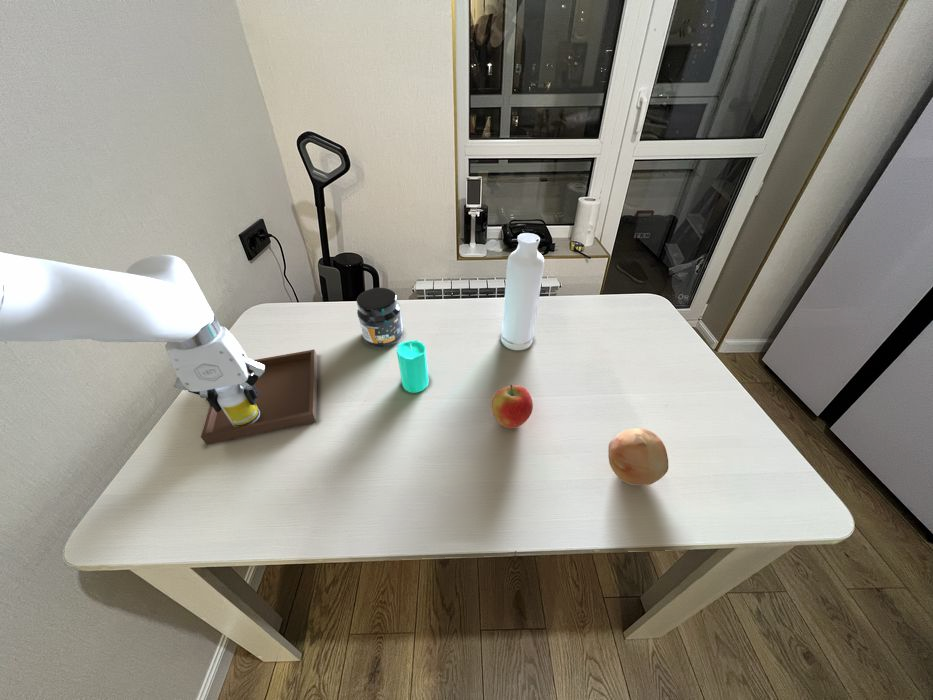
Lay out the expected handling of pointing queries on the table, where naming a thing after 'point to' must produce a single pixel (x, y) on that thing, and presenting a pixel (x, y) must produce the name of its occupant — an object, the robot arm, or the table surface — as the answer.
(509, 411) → the apple
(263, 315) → the table surface
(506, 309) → the bottle
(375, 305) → the supplement container
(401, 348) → the candle
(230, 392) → the supplement bottle
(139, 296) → the robot arm
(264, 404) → the tray
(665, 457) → the onion
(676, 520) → the table surface
